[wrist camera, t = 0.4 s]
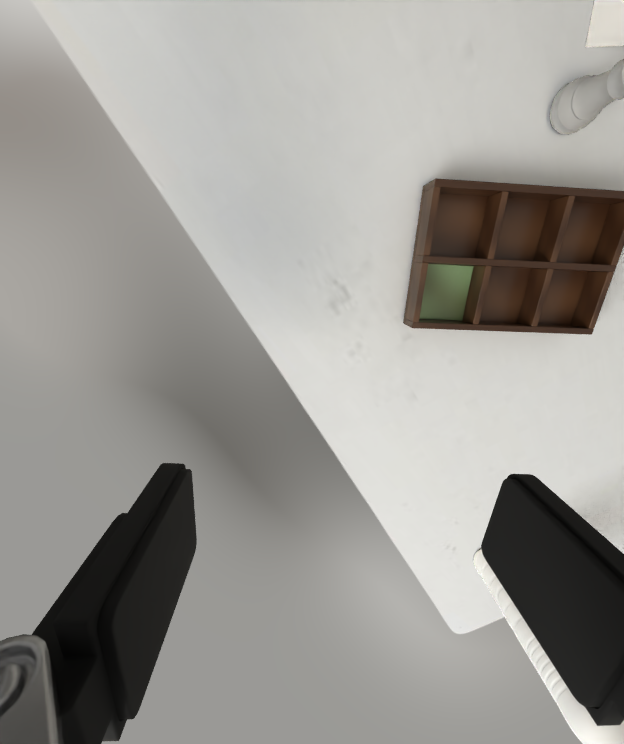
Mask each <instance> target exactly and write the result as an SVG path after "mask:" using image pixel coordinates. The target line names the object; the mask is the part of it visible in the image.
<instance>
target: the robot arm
mask: <svg viewBox="0 0 624 744" xmlns="http://www.w3.org/2000/svg"><path fill="white" fill-rule="evenodd" d="M195 549H196V525H195V511H194V497H193V483H192V471H191V470H190V469H186V468H185V465H184V464H175V463H163V464H161V465H160V466H159V468H158V469H157V471H156V472H155V474H154V475H153V477H152V478H151V480H150V481H149V483H148V484H147V485H146V487H145V488H144V490H143V491H142V493H141V494H140V496H139V497H138V498H137V500H136V502H135V503H134V504H133V506H132V507H131V509H130V510H129V512H128V513H122V514H120V515H119V516H117V518H116V519H115V520H114V521H113V522H112V524H111V525H110V527H109V528H108V529H107V531H106V532H105V533H104V535H103V536H102V538H101V539H100V540H99V542H98V543H97V545H96V546H95V547H94V549H93V550H92V552H91V553H90V554H89V556H88V557H87V558H86V560H85V561H84V563H83V564H82V565H81V567H80V568H79V570H78V571H77V572H76V574H75V575H74V577H73V578H72V579H71V581H70V582H69V584H68V585H67V586H66V588H65V589H64V590H63V592H62V593H61V595H60V596H59V597H58V599H57V600H56V601H55V603H54V604H53V606H52V607H51V608H50V610H49V611H48V613H47V614H46V616H45V617H44V618H43V620H42V621H41V622H40V624H39V625H38V626H37V628H36V629H35V631H34V632H33V634H32V635H24V634H23V635H19V636H14V637H10V638H6V639H5V640H2V641H0V744H101V743H102V741H119V739H120V737H121V734H122V731H123V729H124V726H125V723H126V721H127V719H134V718H135V716H136V715H137V713H138V711H139V708H140V706H141V703H142V700H143V697H144V695H145V691H146V689H147V686H148V683H149V680H150V677H151V675H152V672H153V669H154V666H155V663H156V661H157V658H158V655H159V652H160V650H161V646H162V644H163V641H164V638H165V635H166V633H167V630H168V627H169V624H170V621H171V618H172V616H173V613H174V610H175V607H176V605H177V602H178V599H179V596H180V593H181V590H182V588H183V585H184V582H185V579H186V576H187V573H188V570H189V568H190V565H191V562H192V559H193V556H194V553H195ZM481 549H482V554H483V556H484V558H485V560H486V561H487V563H488V564H489V566H490V568H491V569H492V571H493V572H494V574H495V575H496V577H497V578H498V580H499V582H500V583H501V585H502V586H503V588H504V589H505V591H506V592H507V594H508V596H509V597H510V599H511V600H512V602H513V603H514V605H515V606H516V608H517V610H518V611H519V613H520V614H521V616H522V617H523V619H524V620H525V622H526V624H527V625H528V627H529V628H530V630H531V631H532V633H533V634H534V636H535V637H536V639H537V641H538V642H539V644H540V645H541V647H542V648H543V650H544V651H545V653H546V655H547V656H548V658H549V659H550V661H551V662H552V664H553V665H554V667H555V669H556V670H557V672H558V673H559V675H560V676H561V678H562V679H563V681H564V683H565V684H566V686H567V687H568V689H569V690H570V692H571V693H572V695H573V696H574V698H575V699H576V700H577V701H578V702H579V703H580V704H581V705H583V706H584V707H585V708H586V710H587V711H588V713H589V714H590V716H591V717H592V719H593V720H594V722H595V723H596V725H597V726H611V725H621V723H622V722H623V721H624V554H623V553H622V552H621V551H619V550H618V549H617V548H616V547H615V546H614V545H613V544H612V543H610V542H609V541H608V540H607V539H606V538H605V537H604V536H602V535H601V534H600V533H599V532H598V531H597V530H596V529H594V528H593V527H592V526H591V525H590V524H589V523H588V522H587V521H585V520H584V519H583V518H582V517H581V516H580V515H579V514H577V513H576V512H575V511H574V510H573V509H572V508H571V507H570V506H568V505H567V504H566V503H565V502H564V501H563V500H562V499H560V498H559V497H558V496H557V495H556V494H555V493H554V492H552V491H551V490H550V489H549V488H548V487H547V486H546V485H545V484H543V483H542V482H541V481H540V480H539V479H538V478H536V477H535V476H533V475H530V474H511V475H509V476H508V478H507V479H505V480H504V481H503V483H502V486H501V489H500V492H499V495H498V498H497V500H496V503H495V506H494V509H493V512H492V515H491V518H490V521H489V524H488V527H487V530H486V533H485V535H484V538H483V541H482V545H481Z"/></svg>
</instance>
